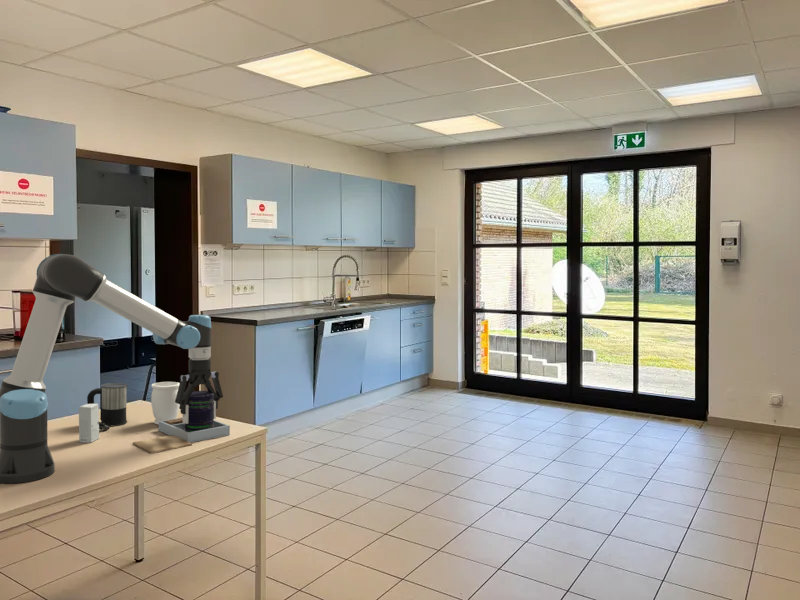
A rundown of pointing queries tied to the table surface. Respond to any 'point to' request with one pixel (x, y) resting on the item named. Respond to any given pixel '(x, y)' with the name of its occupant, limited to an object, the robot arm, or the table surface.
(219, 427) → the tray
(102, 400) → the milk frother
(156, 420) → the jar
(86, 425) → the skincare box
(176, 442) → the mat
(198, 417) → the rusty oil drum
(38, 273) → the robot arm
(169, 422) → the block
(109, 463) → the table surface
